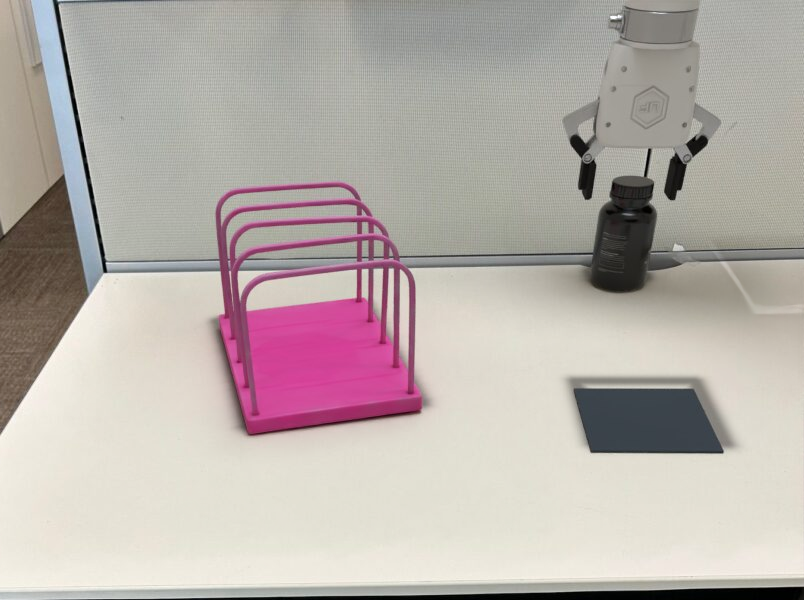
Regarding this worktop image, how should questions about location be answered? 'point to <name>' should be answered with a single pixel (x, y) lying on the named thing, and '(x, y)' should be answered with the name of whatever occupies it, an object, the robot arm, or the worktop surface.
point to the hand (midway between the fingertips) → (627, 196)
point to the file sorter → (315, 329)
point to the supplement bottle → (624, 235)
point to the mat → (645, 420)
